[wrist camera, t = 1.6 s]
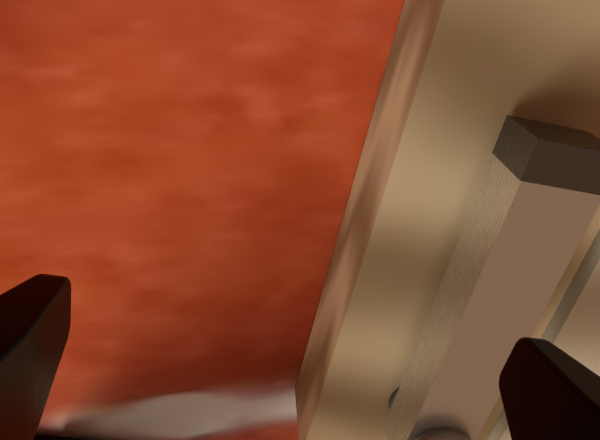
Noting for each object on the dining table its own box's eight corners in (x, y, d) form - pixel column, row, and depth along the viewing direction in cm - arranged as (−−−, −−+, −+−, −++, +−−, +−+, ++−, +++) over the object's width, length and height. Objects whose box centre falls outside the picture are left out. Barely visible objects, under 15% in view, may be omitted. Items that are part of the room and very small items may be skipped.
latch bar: (442, 437, 22) (463, 496, 20) (377, 431, 22) (391, 490, 20) (589, 131, 16) (643, 165, 14) (503, 114, 16) (544, 146, 14)
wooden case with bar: (620, 423, 29) (706, 543, 24) (294, 388, 27) (304, 514, 21) (875, 51, 20) (1114, 101, 15) (422, -62, 18) (500, -55, 12)
